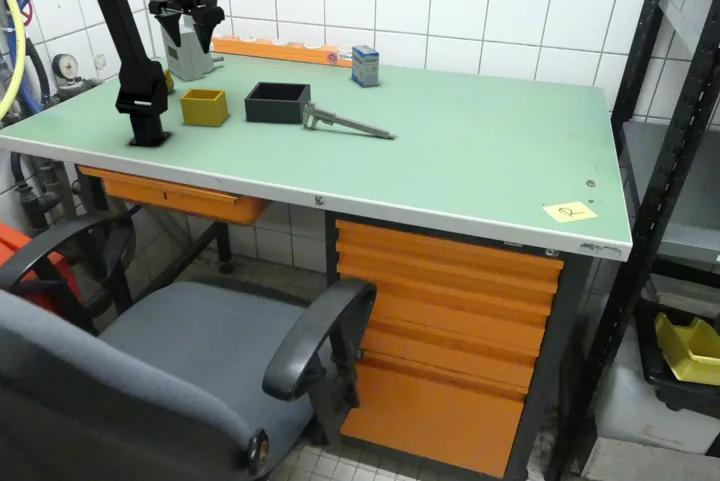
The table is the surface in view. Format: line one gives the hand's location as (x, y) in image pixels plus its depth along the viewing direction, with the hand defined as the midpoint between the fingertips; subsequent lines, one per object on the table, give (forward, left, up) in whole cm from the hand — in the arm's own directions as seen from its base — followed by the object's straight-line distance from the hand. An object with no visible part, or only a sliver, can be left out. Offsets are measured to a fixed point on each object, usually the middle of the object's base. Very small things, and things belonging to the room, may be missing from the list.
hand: (192, 50), depth 122 cm
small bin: (-10, -5, -13) cm, 17 cm away
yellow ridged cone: (+6, +11, -13) cm, 18 cm away
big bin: (-3, -20, -13) cm, 24 cm away
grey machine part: (+24, +9, -13) cm, 29 cm away
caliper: (-13, -38, -13) cm, 42 cm away
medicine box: (+21, -38, -13) cm, 45 cm away
